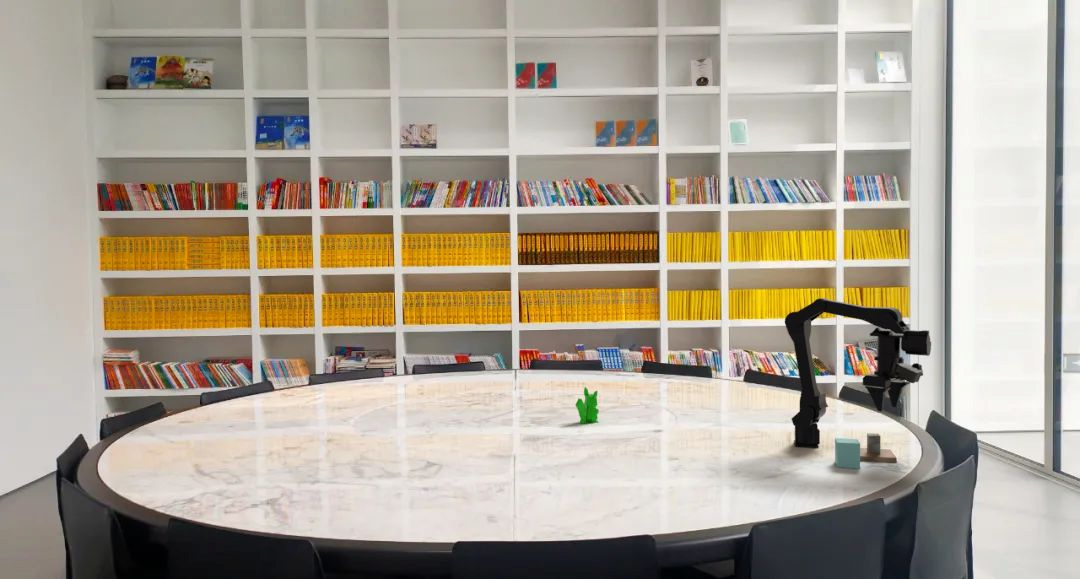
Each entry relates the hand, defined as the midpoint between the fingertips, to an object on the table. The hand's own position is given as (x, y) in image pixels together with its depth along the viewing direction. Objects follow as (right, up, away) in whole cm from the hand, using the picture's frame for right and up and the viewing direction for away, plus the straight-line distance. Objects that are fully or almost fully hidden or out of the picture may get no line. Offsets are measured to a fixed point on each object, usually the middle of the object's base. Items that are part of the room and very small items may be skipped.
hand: (887, 409), depth 215 cm
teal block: (-15, -13, -10) cm, 22 cm away
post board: (-4, -13, -1) cm, 14 cm away
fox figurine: (-80, -13, +49) cm, 95 cm away
